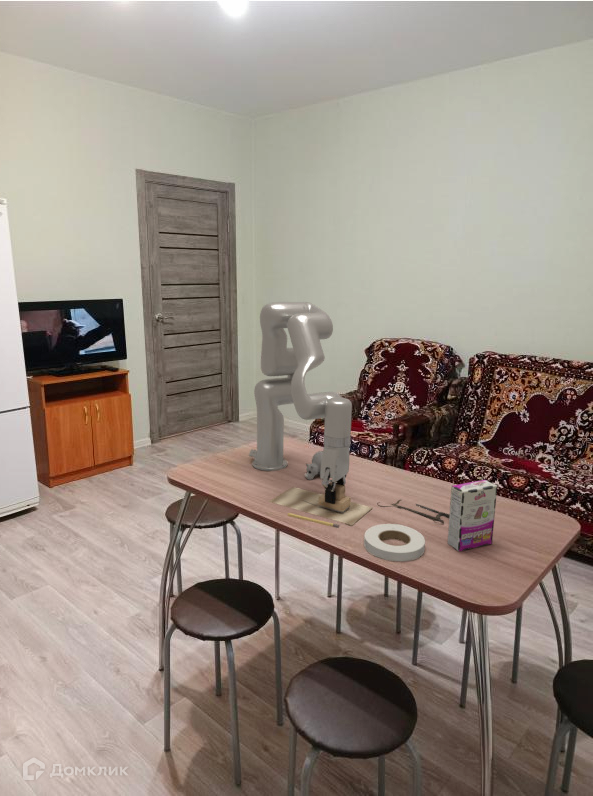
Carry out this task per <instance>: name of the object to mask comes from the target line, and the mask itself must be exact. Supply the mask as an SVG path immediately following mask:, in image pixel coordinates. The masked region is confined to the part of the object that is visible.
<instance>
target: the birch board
mask: <svg viewBox="0 0 593 796" xmlns="http://www.w3.org/2000/svg"><path fill="white" fill-rule="evenodd" d="M322 494H323V493H318V492H315V491H310V490H307V489H303V488H299V487H295V486H292V487H290V488H289V489H287V490H285V491H284V492H282V493H280V494H278V495H276V496H275V497H273V498H272V499H270V500H269V501H268V503H272V504H275V505H279V506H282V507H287V508H290V509H293V510H296V511H300V512H304V513H308V514H312V515H315V516H318V517H320V518H321V517H322V518H326V519H329V520H331V521H332V520H333V521H335V522H340V523H344V525H347V526H351V527H353V526H354V525H355V524H356V523H357V522H358V521H360V520H361V519H362V518H363V517H365V516H366V515H367V514H368V513H369V512H370V511H371V510H372V509H373V508H374V507H373V506H368V505H366V504H365V505H364V504H361V503H357V502H353V501H351V502H350V507H349V508H348V509H347V510H346V511H344V512H343V513H341V512H337V511H334V510H330V509H326V508H323V507H319V506H318V505H319V496H321V495H322Z"/></svg>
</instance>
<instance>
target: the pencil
mask: <svg viewBox="0 0 593 796" xmlns="http://www.w3.org/2000/svg"><path fill="white" fill-rule="evenodd" d="M287 516H288V517H291V518H296V519H300V520H304V521H308V522H312V523H316V524H320V525H324V526H328V527H333V528H336V529H337V528H338V529H339V528H340V524H336V523H333V522H328V521H324V520H321V519H320V520H319V519H316V518H311V517H307V516H303V515H299V514H295V513H291V512H289V513H287Z"/></svg>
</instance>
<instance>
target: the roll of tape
mask: <svg viewBox="0 0 593 796" xmlns="http://www.w3.org/2000/svg"><path fill="white" fill-rule="evenodd" d="M363 537H364V538H363V539H364V540H363V546H364V548H365V550H366V551H367V552H368V553H369V554H370V555H373V556H374V557H376V558H379V559H380V560H381V559H382V560H385V561H390V562H401V563H402V562H411V561H415V560H417V559H419V558H421V557H420V556H423V555H424V552H425V548H426V546H425V545H426V540H425V539H426V538H425V537H424V535H423V534H422V533H421V532H420V531H418V530H416V529H414V528H412V527H409V526H406V525H402V524H398V523H382V524H381V523H380V524H376V525H373V526H371V527H369V528H368V529H366V531H365V532H364V536H363ZM385 540H398V541H401V542H403V543H404V544H402V545H397V544H396V545H395V544H388V543H386V542H384V541H385Z"/></svg>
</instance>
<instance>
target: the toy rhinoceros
mask: <svg viewBox="0 0 593 796" xmlns="http://www.w3.org/2000/svg"><path fill="white" fill-rule="evenodd" d="M322 453H323V450H321V451H317V452H315V453H314V454H313V455H312V458H311V463H305V465H306V472H304V477H305V478H306V479H307V480H309V481H310V480H311V481H312V480H313V479H314V477H315V476H317V475H318V476H320V471H321V460H322Z"/></svg>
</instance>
